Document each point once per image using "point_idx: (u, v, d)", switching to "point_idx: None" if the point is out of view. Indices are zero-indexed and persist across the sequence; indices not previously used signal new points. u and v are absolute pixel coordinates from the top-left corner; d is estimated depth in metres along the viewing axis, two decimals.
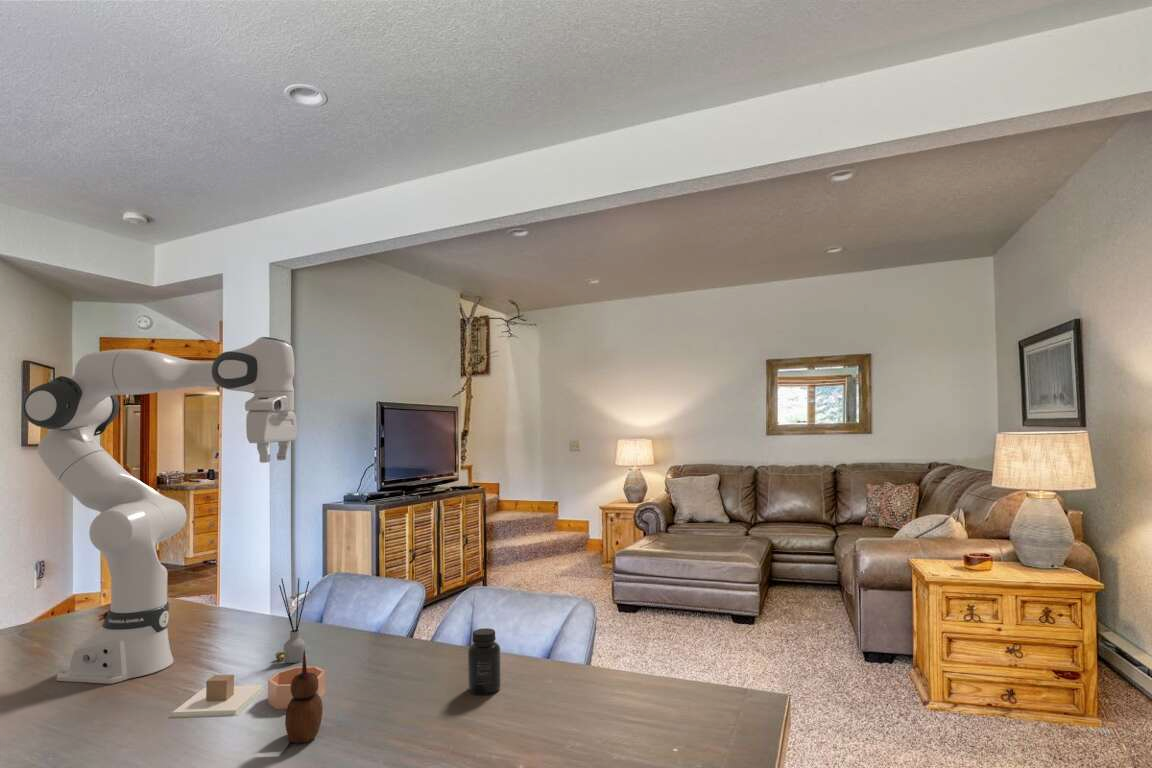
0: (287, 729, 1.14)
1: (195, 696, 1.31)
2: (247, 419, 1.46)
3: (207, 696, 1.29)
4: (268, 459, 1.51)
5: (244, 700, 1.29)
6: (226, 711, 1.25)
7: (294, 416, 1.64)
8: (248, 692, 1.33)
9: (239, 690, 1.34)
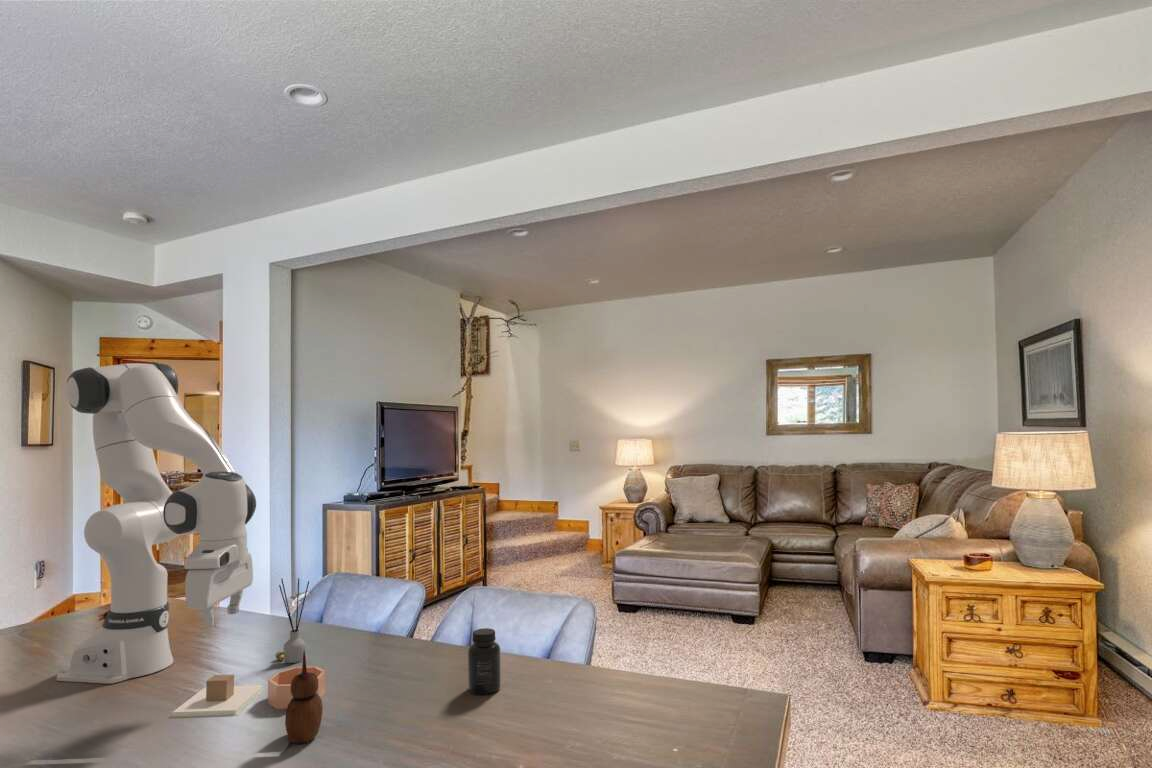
0: (287, 729, 1.14)
1: (195, 696, 1.31)
2: (186, 581, 1.23)
3: (207, 696, 1.29)
4: (214, 623, 1.27)
5: (244, 700, 1.29)
6: (226, 711, 1.25)
7: (249, 558, 1.40)
8: (248, 692, 1.33)
9: (239, 690, 1.34)
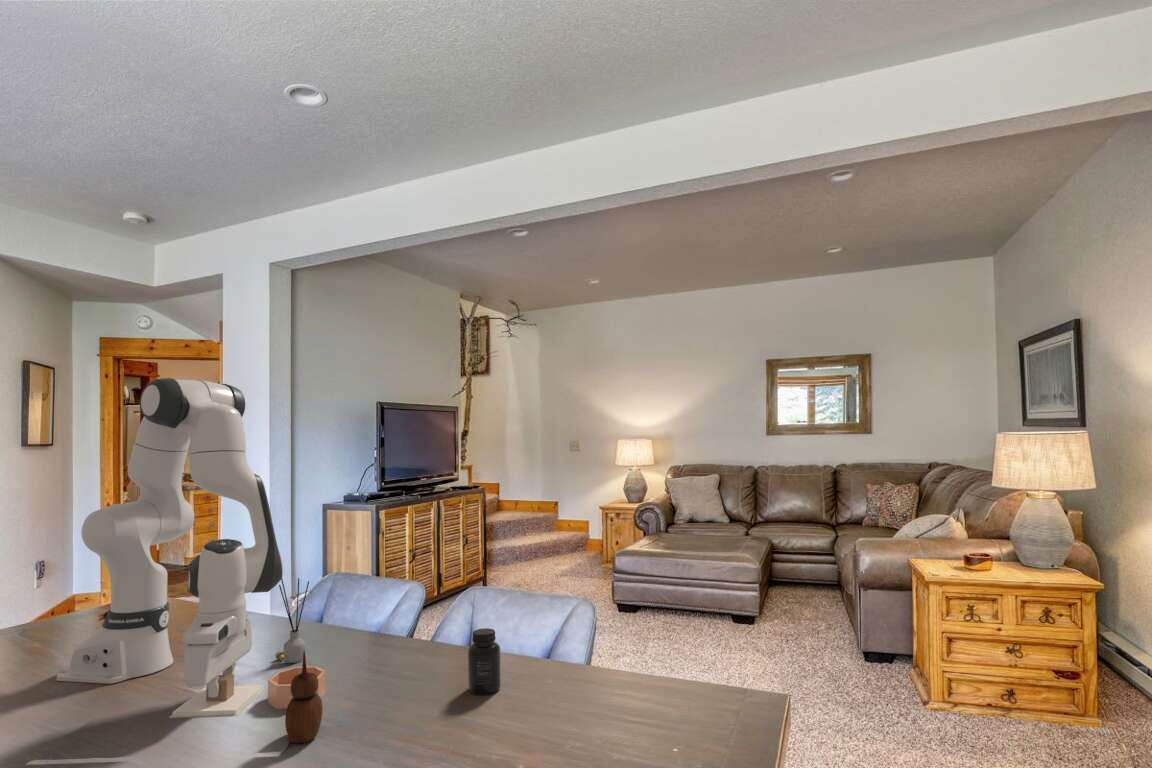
0: (287, 729, 1.14)
1: (195, 696, 1.32)
2: (185, 657, 1.22)
3: (207, 696, 1.29)
4: (219, 692, 1.29)
5: (244, 700, 1.29)
6: (226, 711, 1.25)
7: (247, 625, 1.39)
8: (248, 692, 1.33)
9: (239, 690, 1.34)
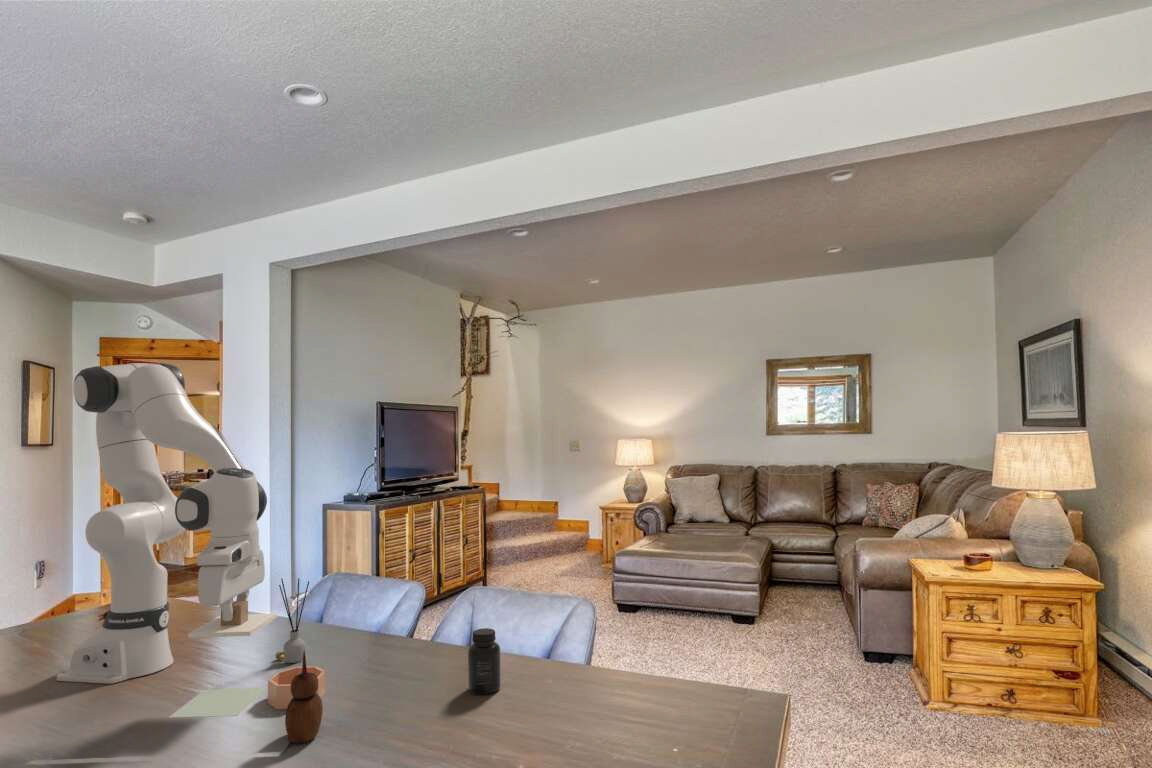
0: (287, 729, 1.14)
1: (210, 622, 1.32)
2: (199, 577, 1.23)
3: (222, 620, 1.30)
4: (233, 616, 1.29)
5: (258, 624, 1.30)
6: (241, 632, 1.26)
7: (260, 555, 1.40)
8: (262, 619, 1.34)
9: (253, 617, 1.35)
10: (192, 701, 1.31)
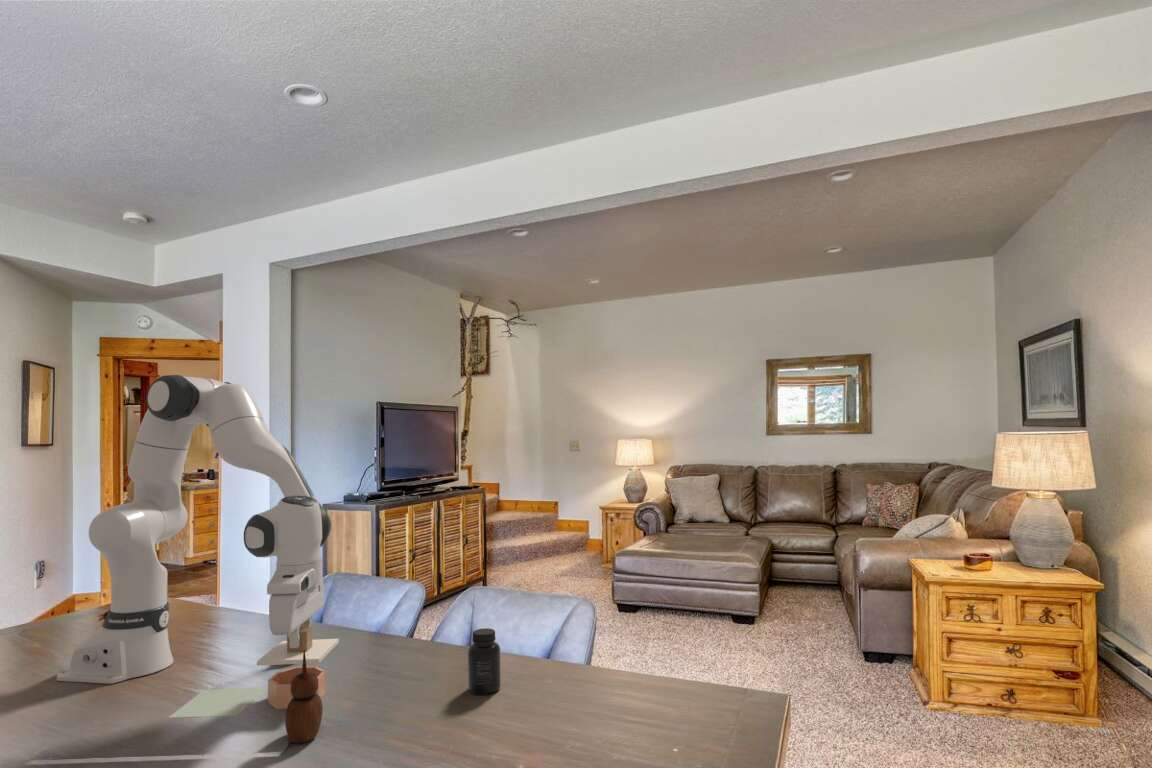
0: (287, 729, 1.14)
1: (275, 648, 1.34)
2: (270, 607, 1.24)
3: (288, 647, 1.31)
4: (299, 643, 1.31)
5: (324, 651, 1.32)
6: (310, 660, 1.27)
7: None
8: (326, 645, 1.35)
9: (316, 643, 1.36)
10: (192, 701, 1.31)
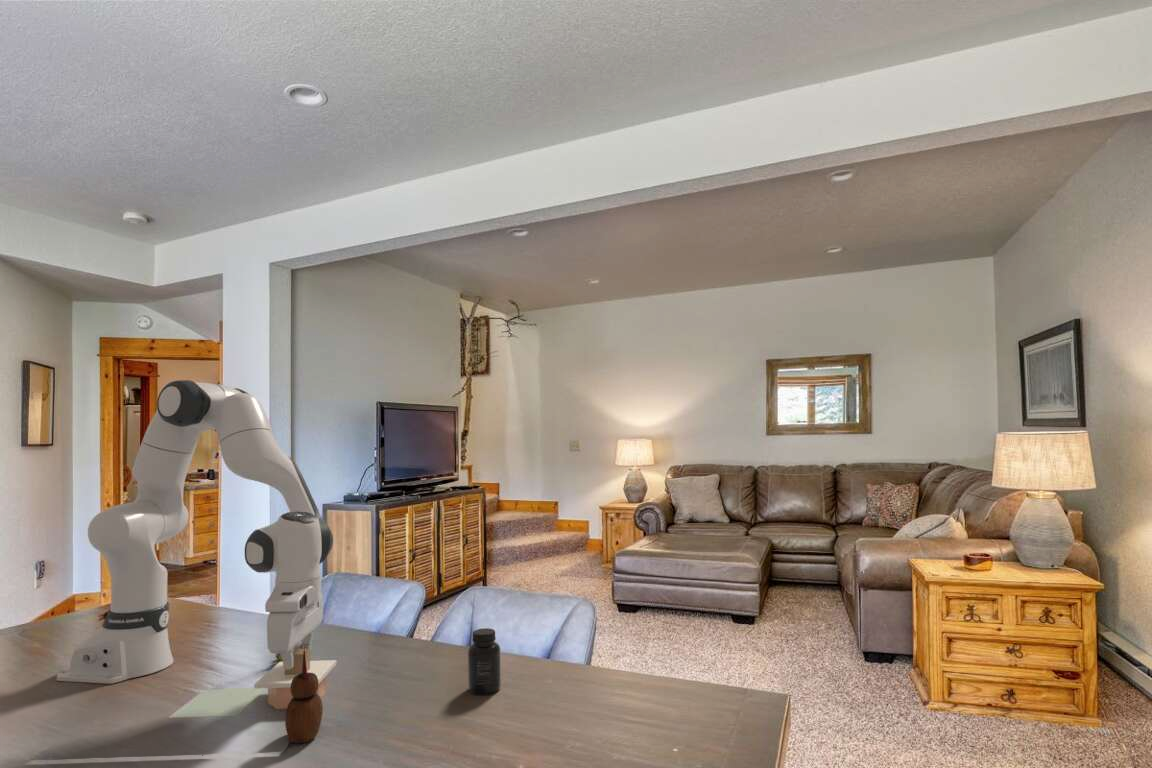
0: (287, 729, 1.14)
1: (272, 670, 1.33)
2: (268, 625, 1.24)
3: (285, 669, 1.31)
4: (293, 664, 1.28)
5: (322, 673, 1.31)
6: None
7: None
8: (324, 667, 1.35)
9: (314, 664, 1.36)
10: (192, 701, 1.31)
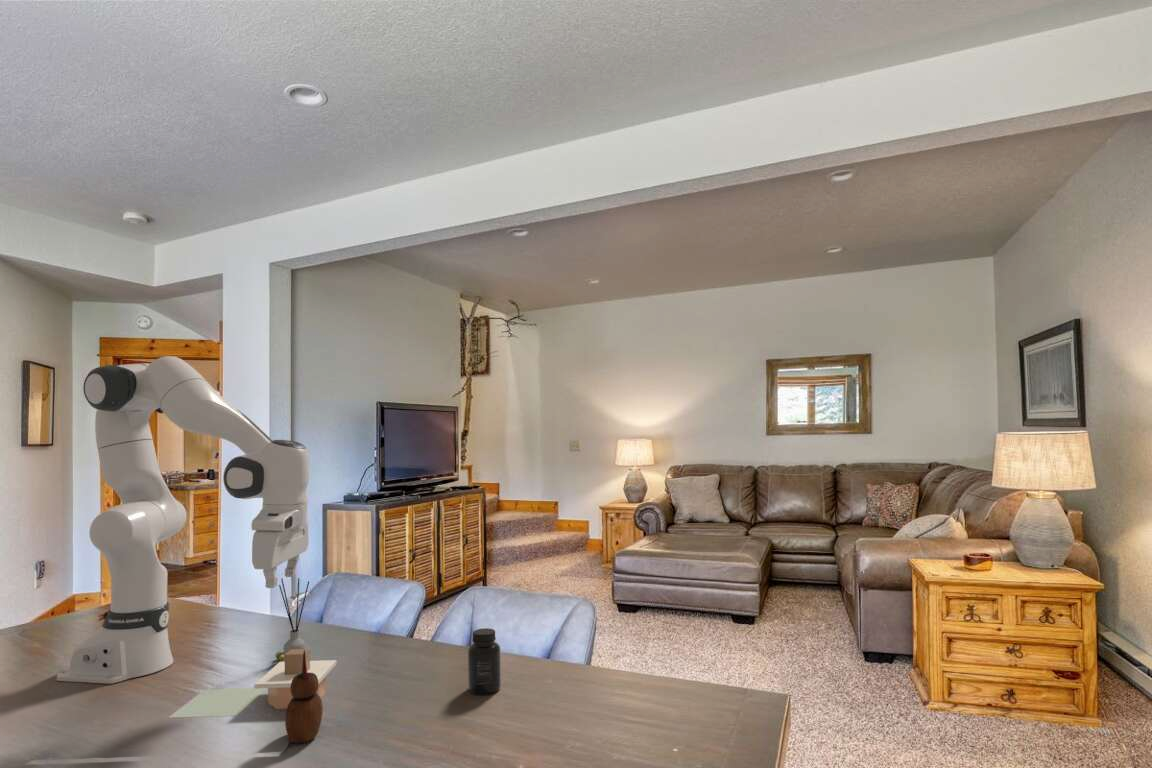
0: (287, 729, 1.14)
1: (272, 670, 1.33)
2: (253, 541, 1.29)
3: (285, 669, 1.31)
4: (275, 583, 1.33)
5: (322, 673, 1.31)
6: None
7: (306, 525, 1.46)
8: (324, 667, 1.35)
9: (314, 664, 1.36)
10: (192, 701, 1.31)
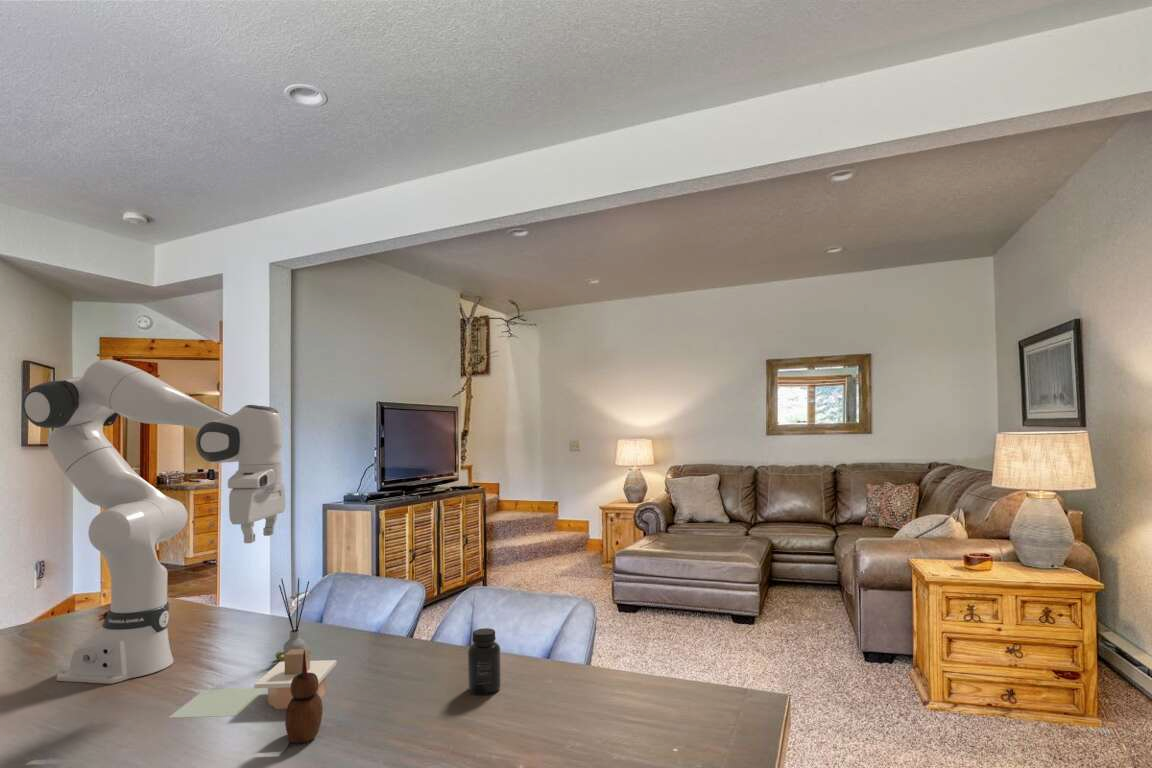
0: (287, 729, 1.14)
1: (272, 670, 1.33)
2: (230, 498, 1.36)
3: (285, 669, 1.31)
4: (253, 539, 1.40)
5: (322, 673, 1.31)
6: None
7: (282, 487, 1.53)
8: (324, 667, 1.35)
9: (314, 664, 1.36)
10: (192, 701, 1.31)
